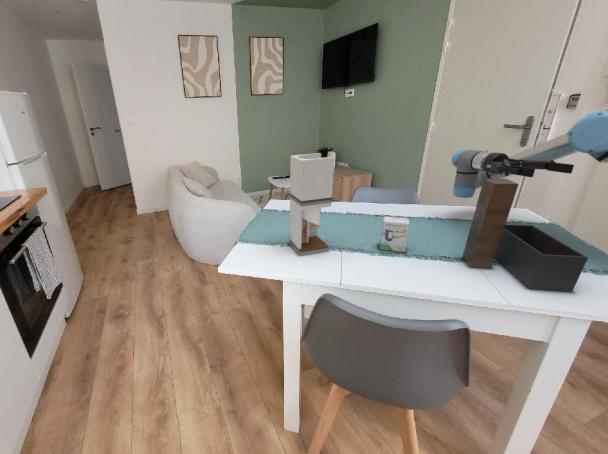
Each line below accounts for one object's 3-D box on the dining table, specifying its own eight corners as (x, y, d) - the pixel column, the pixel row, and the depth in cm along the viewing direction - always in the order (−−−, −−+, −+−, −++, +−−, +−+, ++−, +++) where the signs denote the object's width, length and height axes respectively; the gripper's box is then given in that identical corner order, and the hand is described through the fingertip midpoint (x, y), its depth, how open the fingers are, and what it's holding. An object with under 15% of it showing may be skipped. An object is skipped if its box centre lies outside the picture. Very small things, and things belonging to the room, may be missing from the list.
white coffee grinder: (300, 255, 108) (302, 160, 94) (289, 243, 117) (290, 155, 104) (328, 250, 110) (334, 157, 96) (315, 239, 120) (319, 153, 106)
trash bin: (488, 252, 103) (496, 224, 99) (521, 254, 101) (532, 225, 96) (528, 288, 83) (542, 255, 79) (572, 292, 81) (588, 257, 76)
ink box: (403, 246, 110) (409, 217, 105) (405, 253, 105) (410, 223, 101) (379, 244, 113) (383, 215, 108) (379, 250, 108) (383, 220, 104)
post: (461, 258, 100) (483, 178, 89) (481, 259, 99) (506, 178, 88) (470, 267, 95) (494, 183, 84) (491, 268, 93) (518, 183, 82)
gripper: (462, 155, 108) (519, 162, 88) (522, 149, 110) (591, 155, 90) (458, 175, 110) (513, 186, 90) (517, 169, 113) (583, 179, 93)
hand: (552, 171), depth 90 cm, fingers open, 13 cm apart
